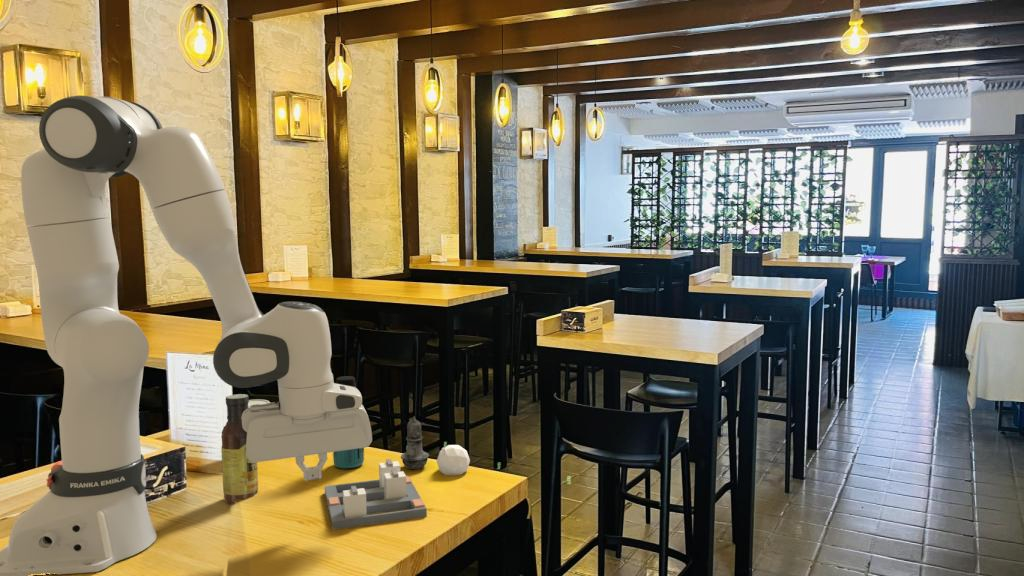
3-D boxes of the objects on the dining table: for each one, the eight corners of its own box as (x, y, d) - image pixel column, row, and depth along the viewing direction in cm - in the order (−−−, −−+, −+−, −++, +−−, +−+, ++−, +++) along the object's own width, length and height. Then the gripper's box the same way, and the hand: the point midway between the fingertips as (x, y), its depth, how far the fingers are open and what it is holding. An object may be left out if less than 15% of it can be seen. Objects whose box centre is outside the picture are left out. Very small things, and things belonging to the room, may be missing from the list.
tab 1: (345, 525, 122) (344, 493, 122) (343, 518, 125) (342, 487, 124) (366, 522, 123) (365, 490, 123) (364, 515, 126) (363, 484, 125)
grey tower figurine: (424, 478, 147) (422, 420, 146) (396, 476, 148) (395, 419, 147) (432, 468, 153) (431, 413, 152) (406, 466, 154) (405, 411, 153)
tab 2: (381, 493, 136) (381, 464, 135) (379, 488, 139) (378, 460, 138) (400, 491, 137) (400, 462, 137) (398, 486, 140) (397, 458, 139)
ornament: (471, 481, 145) (450, 456, 142) (444, 487, 148) (424, 463, 145) (479, 456, 150) (460, 432, 147) (454, 463, 153) (434, 439, 150)
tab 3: (387, 505, 130) (386, 475, 130) (384, 499, 133) (383, 470, 132) (406, 502, 131) (406, 473, 131) (403, 497, 134) (403, 468, 134)
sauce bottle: (255, 504, 134) (250, 399, 132) (220, 506, 133) (215, 401, 131) (261, 491, 141) (257, 391, 139) (228, 493, 140) (223, 393, 138)
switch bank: (332, 535, 120) (332, 519, 120) (324, 498, 136) (324, 484, 136) (426, 522, 126) (426, 506, 125) (408, 488, 142) (408, 474, 141)
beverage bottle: (361, 475, 149) (358, 380, 147) (329, 475, 149) (325, 380, 147) (367, 464, 155) (365, 373, 153) (337, 465, 155) (334, 373, 153)
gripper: (239, 411, 113) (246, 495, 115) (370, 396, 119) (375, 476, 121) (241, 401, 119) (247, 481, 121) (366, 387, 125) (370, 463, 127)
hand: (312, 478), depth 121 cm, fingers closed
